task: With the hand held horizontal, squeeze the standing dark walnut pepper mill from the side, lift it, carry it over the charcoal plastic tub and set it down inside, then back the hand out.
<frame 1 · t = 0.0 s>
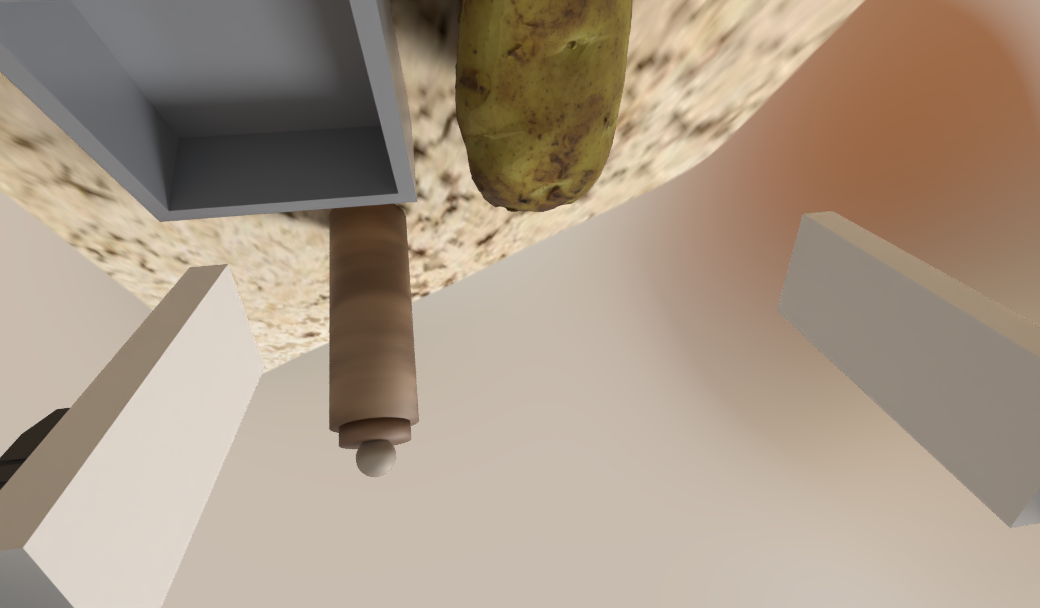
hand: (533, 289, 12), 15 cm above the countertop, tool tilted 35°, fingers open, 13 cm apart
pepper mill: (368, 219, 36), on the countertop
tub: (246, 29, 22), on the countertop
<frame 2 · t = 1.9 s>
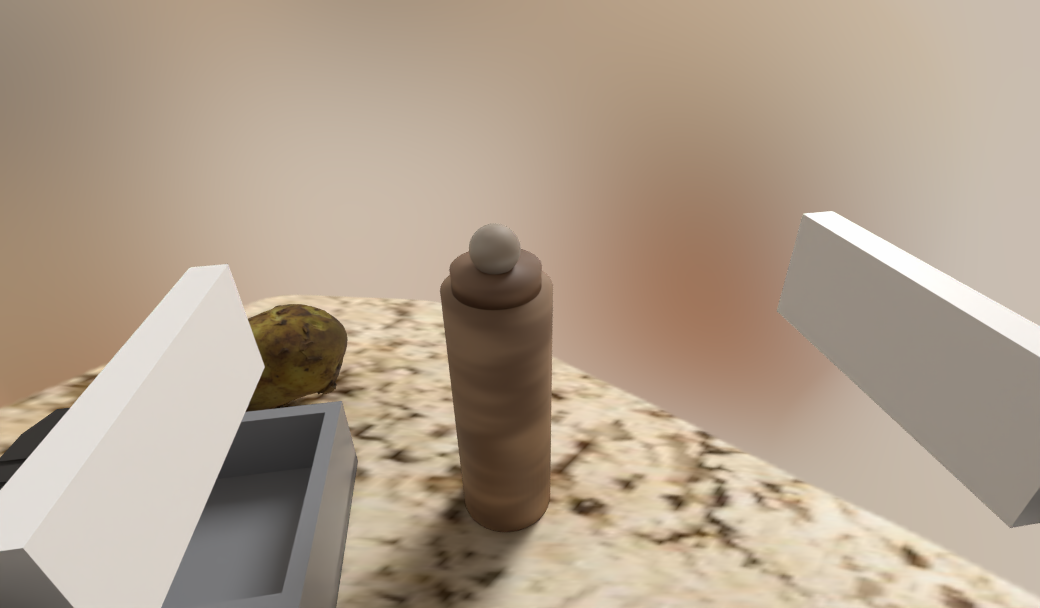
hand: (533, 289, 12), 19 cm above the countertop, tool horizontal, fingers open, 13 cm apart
potato: (266, 411, 37), on the countertop
pepper mill: (507, 493, 31), on the countertop
tub: (226, 564, 27), on the countertop
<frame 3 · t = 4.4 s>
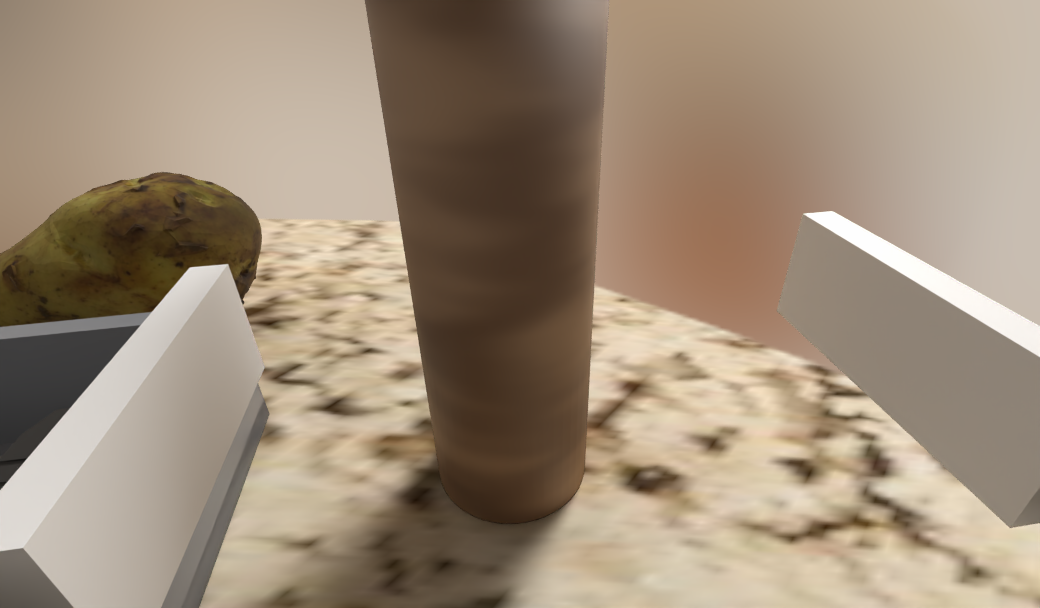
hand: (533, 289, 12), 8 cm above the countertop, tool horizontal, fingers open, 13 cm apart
potato: (146, 350, 25), on the countertop
pepper mill: (512, 460, 18), on the countertop
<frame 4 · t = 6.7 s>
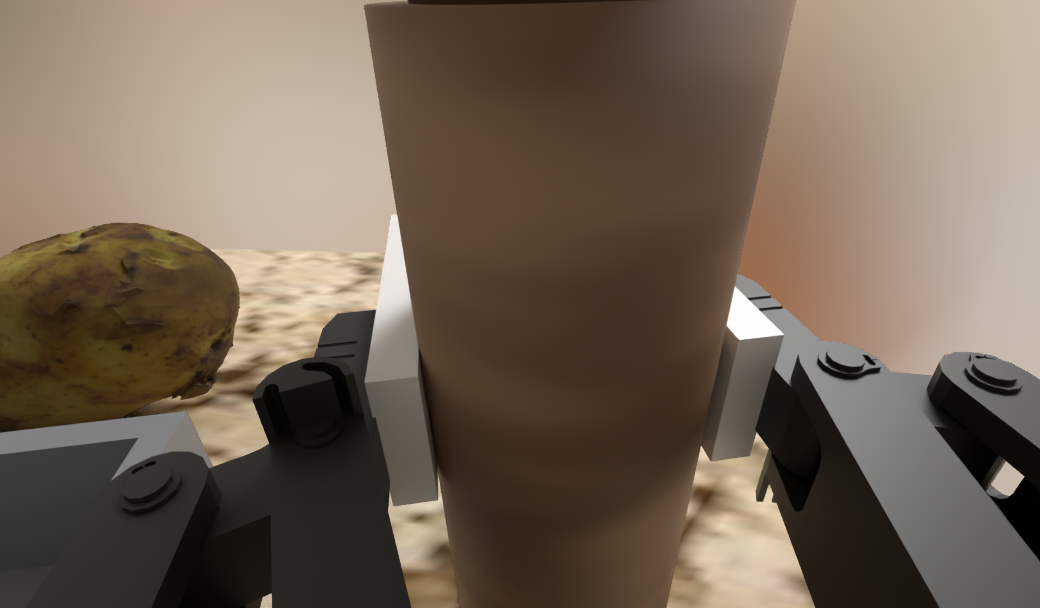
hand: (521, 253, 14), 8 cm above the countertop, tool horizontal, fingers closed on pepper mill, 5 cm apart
potato: (100, 430, 20), on the countertop
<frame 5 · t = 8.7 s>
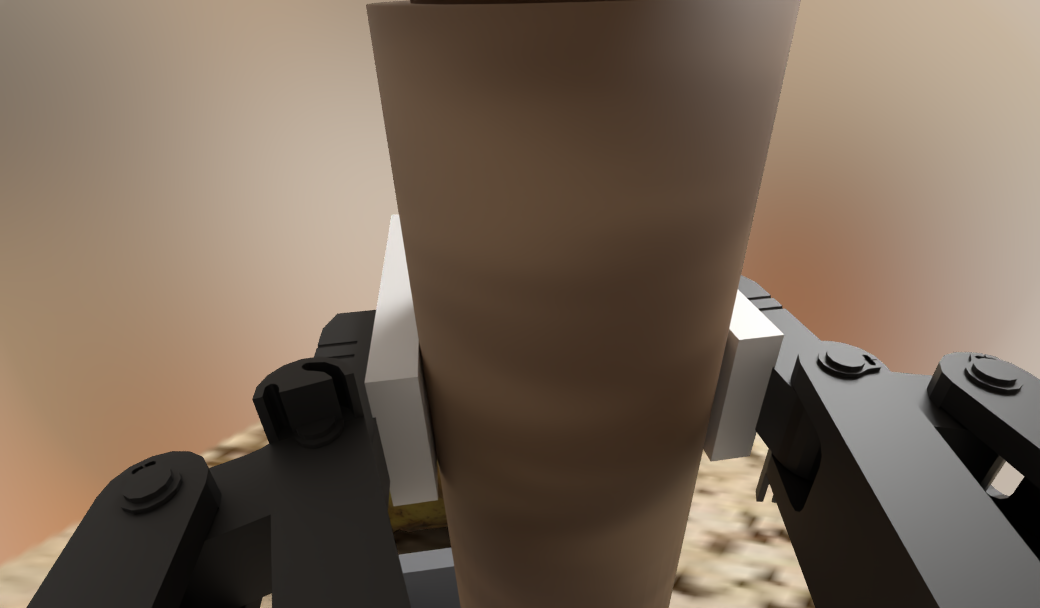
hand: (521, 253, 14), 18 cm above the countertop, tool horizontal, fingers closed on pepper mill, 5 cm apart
potato: (467, 507, 28), on the countertop
when the fingers open (10 cm above the countertop, at t = 11.1 s): pepper mill drops 1 cm, resting on tub.
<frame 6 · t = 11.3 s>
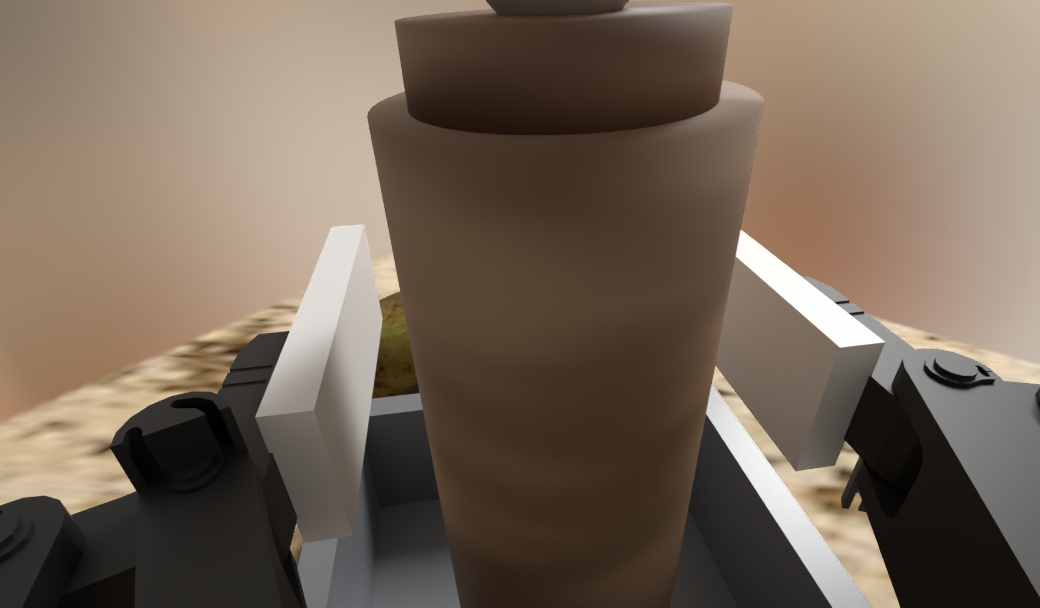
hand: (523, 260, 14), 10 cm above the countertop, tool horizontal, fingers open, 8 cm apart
potato: (481, 391, 25), on the countertop
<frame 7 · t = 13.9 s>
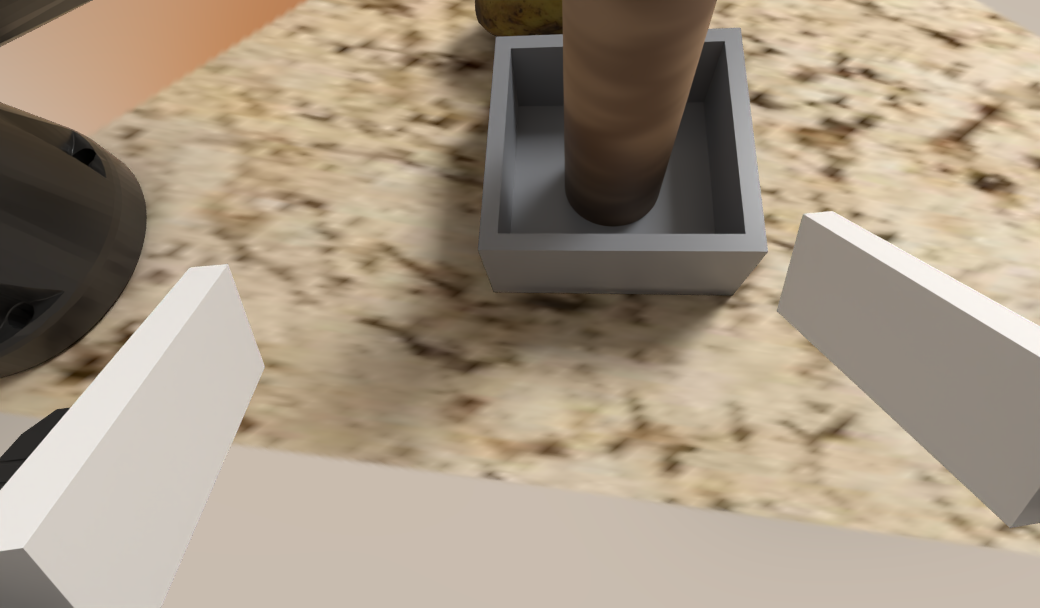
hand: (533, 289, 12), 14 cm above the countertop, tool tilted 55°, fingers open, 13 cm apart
potato: (588, 31, 33), on the countertop
pepper mill: (611, 184, 28), point 1 cm above the countertop, touching tub
tub: (609, 191, 29), on the countertop
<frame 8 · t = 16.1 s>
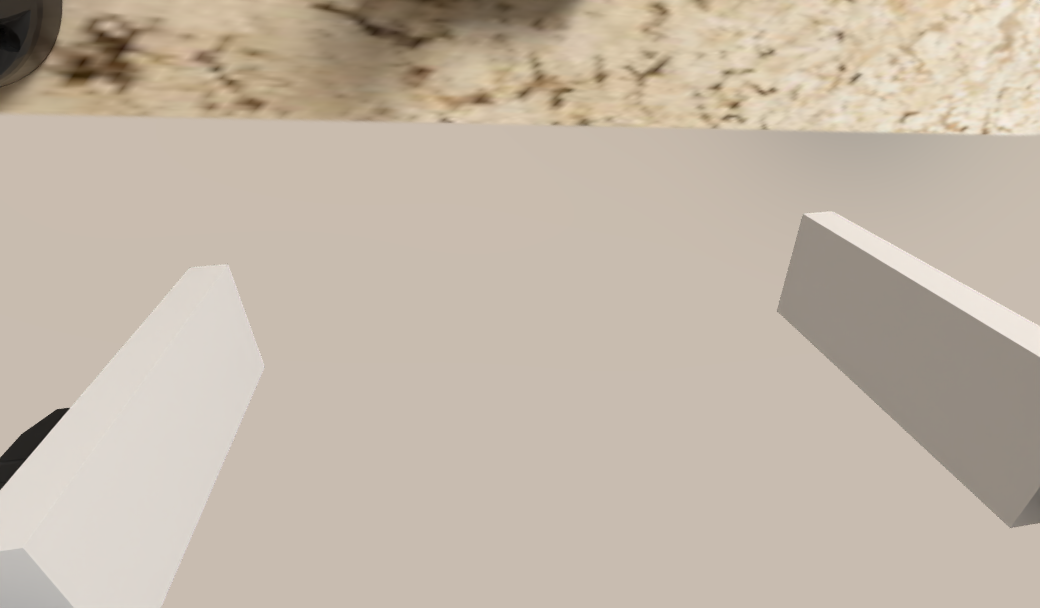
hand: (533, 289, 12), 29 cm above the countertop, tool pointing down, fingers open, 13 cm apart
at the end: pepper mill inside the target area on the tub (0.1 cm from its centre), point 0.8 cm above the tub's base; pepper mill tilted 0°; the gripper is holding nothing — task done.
